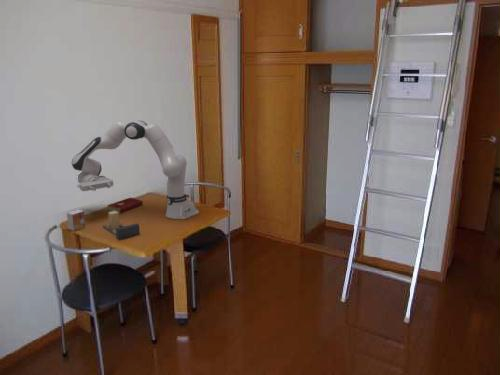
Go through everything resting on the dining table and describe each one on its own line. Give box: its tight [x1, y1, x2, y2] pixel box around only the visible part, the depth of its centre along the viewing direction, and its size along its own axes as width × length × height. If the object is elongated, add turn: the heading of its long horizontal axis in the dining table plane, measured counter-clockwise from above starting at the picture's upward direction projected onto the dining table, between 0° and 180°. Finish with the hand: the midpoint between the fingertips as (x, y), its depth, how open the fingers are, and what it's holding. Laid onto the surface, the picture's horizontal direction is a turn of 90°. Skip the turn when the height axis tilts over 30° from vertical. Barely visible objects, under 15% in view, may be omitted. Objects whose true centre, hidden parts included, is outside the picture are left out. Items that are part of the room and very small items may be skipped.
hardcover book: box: [106, 197, 144, 215], centre depth 290 cm, size 12×21×4 cm, turn 149°
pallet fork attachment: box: [102, 222, 140, 241], centre depth 250 cm, size 13×24×6 cm, turn 44°
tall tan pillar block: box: [107, 211, 121, 231], centre depth 254 cm, size 4×4×10 cm
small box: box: [66, 209, 86, 232], centre depth 252 cm, size 8×6×10 cm
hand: (102, 188), depth 257 cm, fingers open, 8 cm apart
